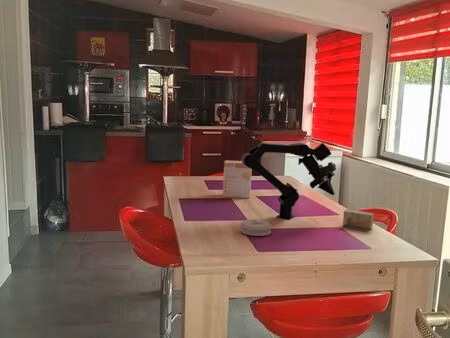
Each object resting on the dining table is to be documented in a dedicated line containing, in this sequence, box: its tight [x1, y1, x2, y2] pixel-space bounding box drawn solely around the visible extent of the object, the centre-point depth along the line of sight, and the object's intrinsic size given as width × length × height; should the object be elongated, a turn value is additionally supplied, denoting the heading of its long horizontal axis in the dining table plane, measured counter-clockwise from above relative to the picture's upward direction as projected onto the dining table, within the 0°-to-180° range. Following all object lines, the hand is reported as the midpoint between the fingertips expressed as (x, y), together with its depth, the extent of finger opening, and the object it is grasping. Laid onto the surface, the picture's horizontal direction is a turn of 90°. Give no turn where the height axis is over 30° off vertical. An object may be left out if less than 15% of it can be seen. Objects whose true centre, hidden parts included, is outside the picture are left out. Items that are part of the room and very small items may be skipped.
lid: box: [240, 218, 272, 237], centre depth 185 cm, size 13×13×5 cm
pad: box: [342, 224, 370, 233], centre depth 199 cm, size 10×10×1 cm
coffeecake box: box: [222, 159, 253, 199], centre depth 247 cm, size 15×7×20 cm, turn 84°
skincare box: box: [342, 208, 374, 230], centre depth 199 cm, size 6×4×12 cm
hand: (333, 194), depth 204 cm, fingers closed
